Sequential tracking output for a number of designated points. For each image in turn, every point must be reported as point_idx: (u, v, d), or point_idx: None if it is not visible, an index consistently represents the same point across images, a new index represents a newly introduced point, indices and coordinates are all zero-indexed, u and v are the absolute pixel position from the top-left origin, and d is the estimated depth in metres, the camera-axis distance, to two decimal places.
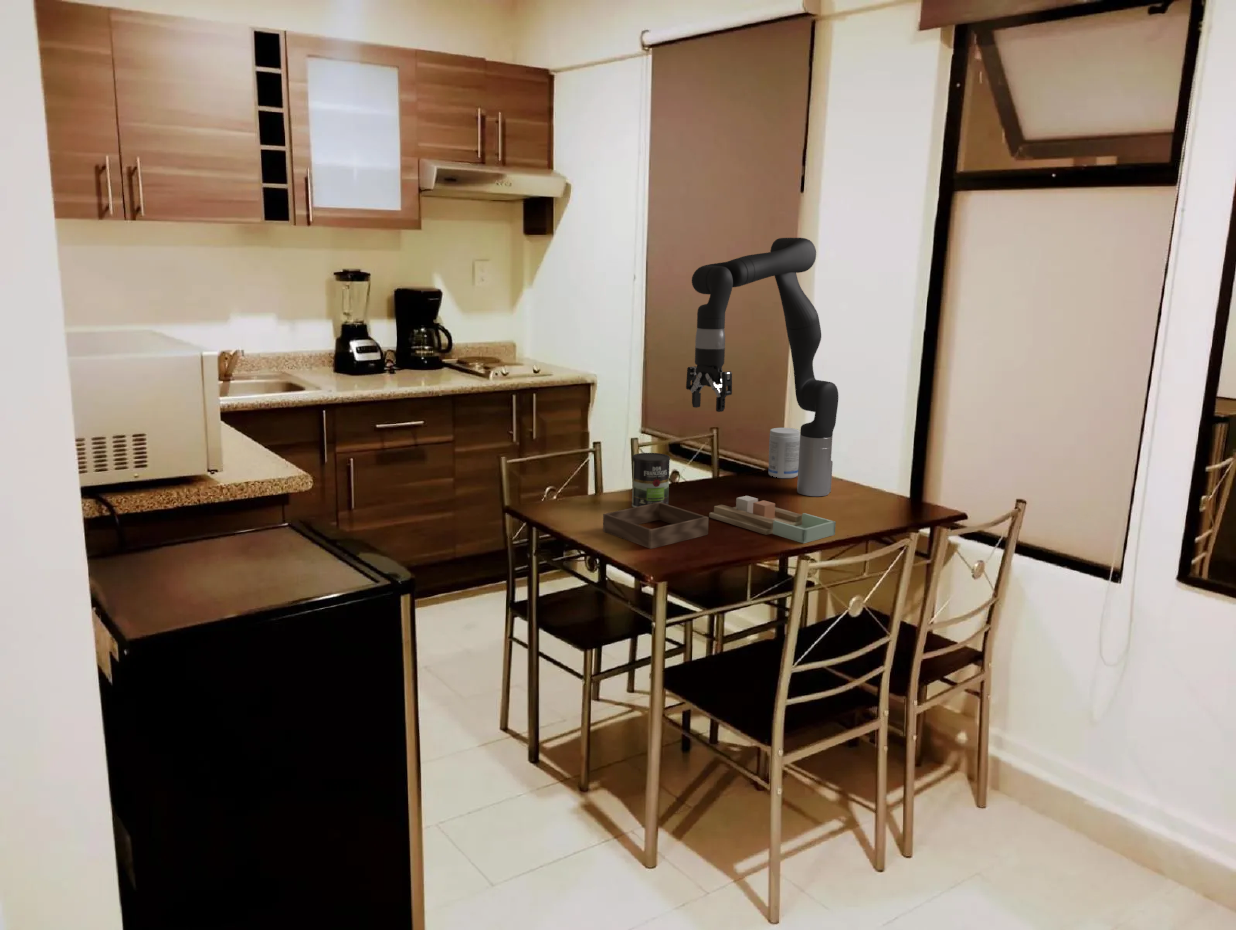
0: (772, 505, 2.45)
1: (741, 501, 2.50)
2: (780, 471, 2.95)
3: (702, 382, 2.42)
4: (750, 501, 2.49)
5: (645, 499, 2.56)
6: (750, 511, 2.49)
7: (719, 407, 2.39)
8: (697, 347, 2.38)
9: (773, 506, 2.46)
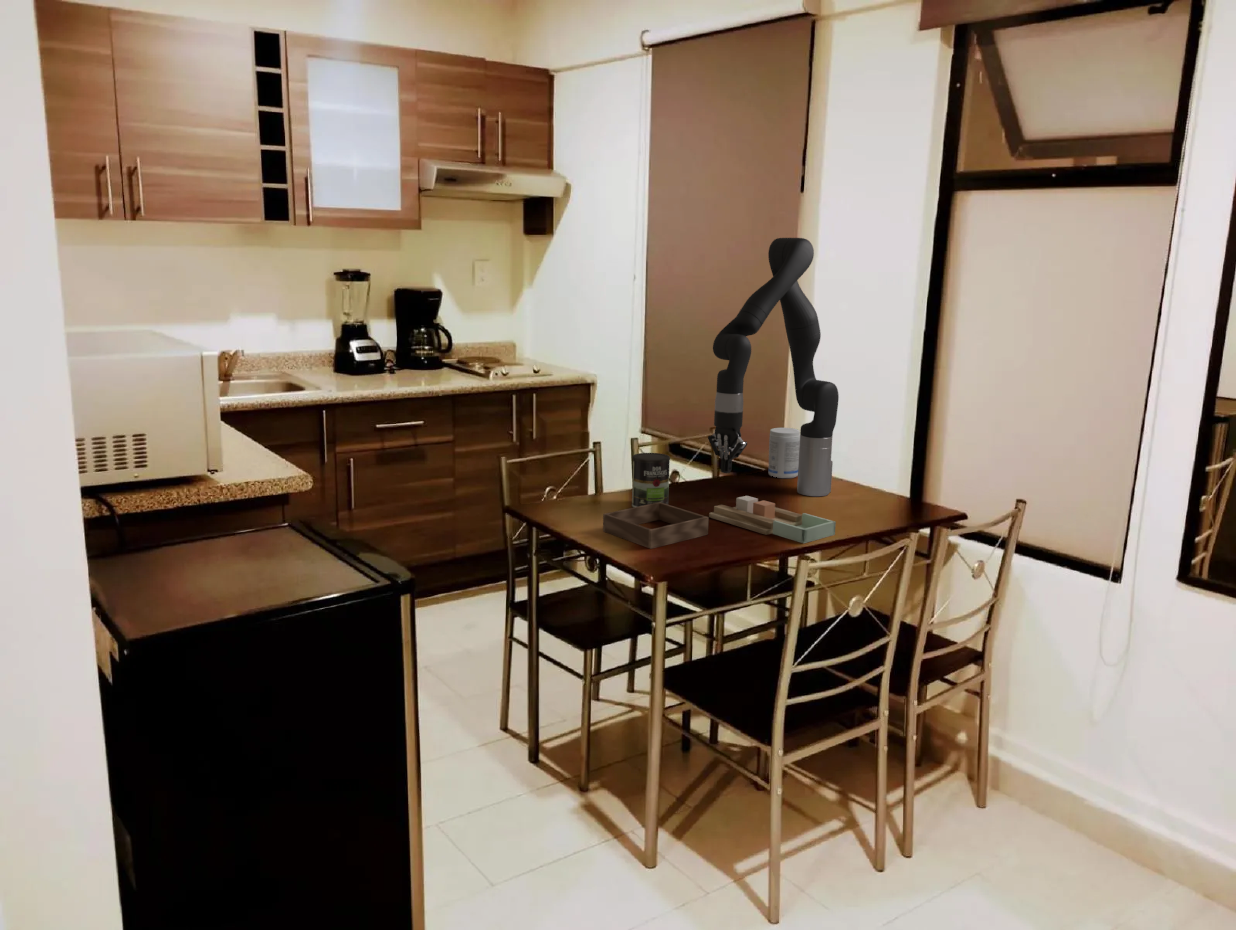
0: (772, 505, 2.45)
1: (741, 501, 2.50)
2: (780, 471, 2.95)
3: None
4: (750, 501, 2.49)
5: (645, 499, 2.56)
6: (750, 511, 2.49)
7: (726, 469, 2.54)
8: (716, 410, 2.50)
9: (773, 506, 2.46)
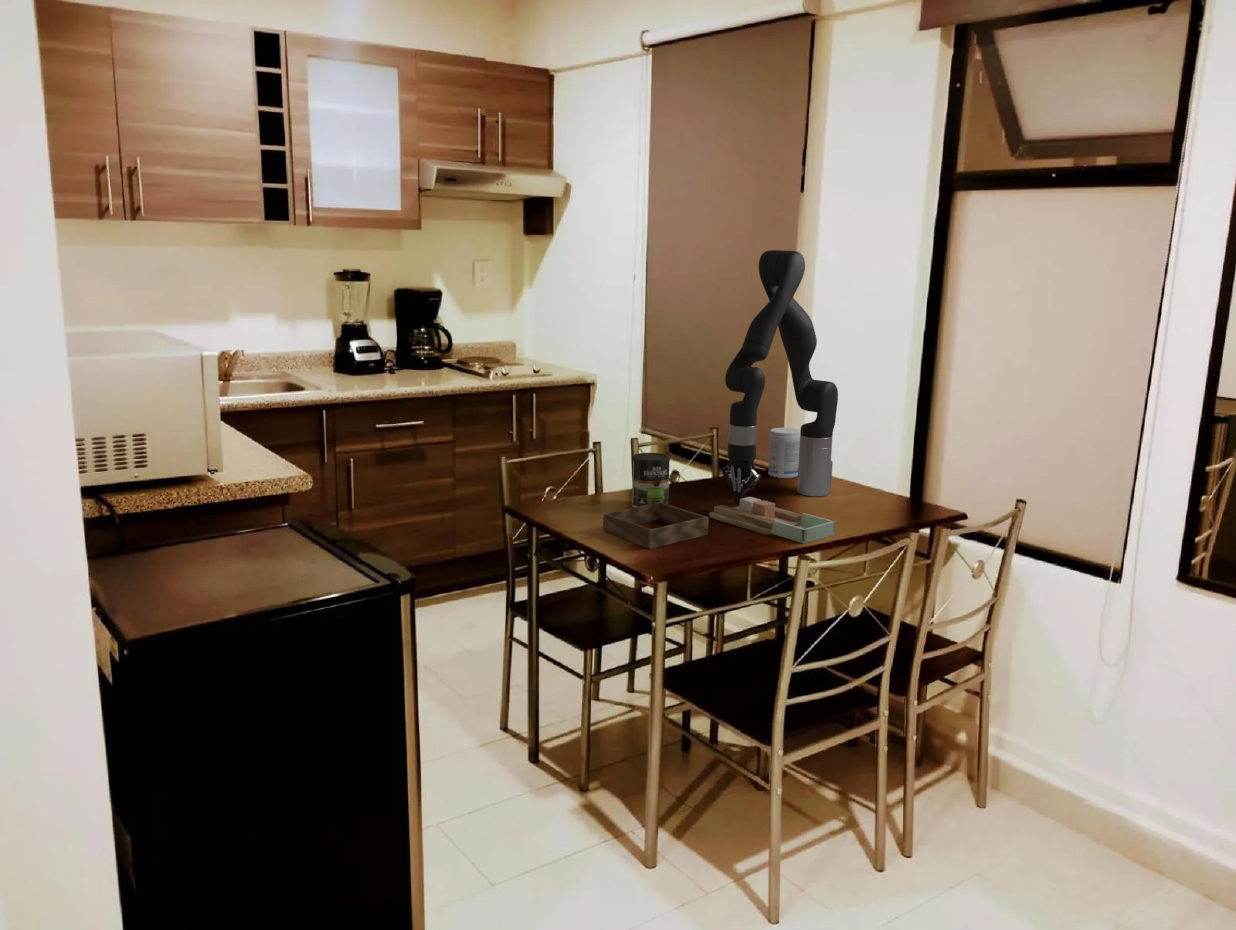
0: (772, 505, 2.45)
1: (744, 502, 2.49)
2: (780, 471, 2.95)
3: None
4: (753, 502, 2.48)
5: (645, 499, 2.56)
6: None
7: None
8: (730, 443, 2.48)
9: (773, 506, 2.46)
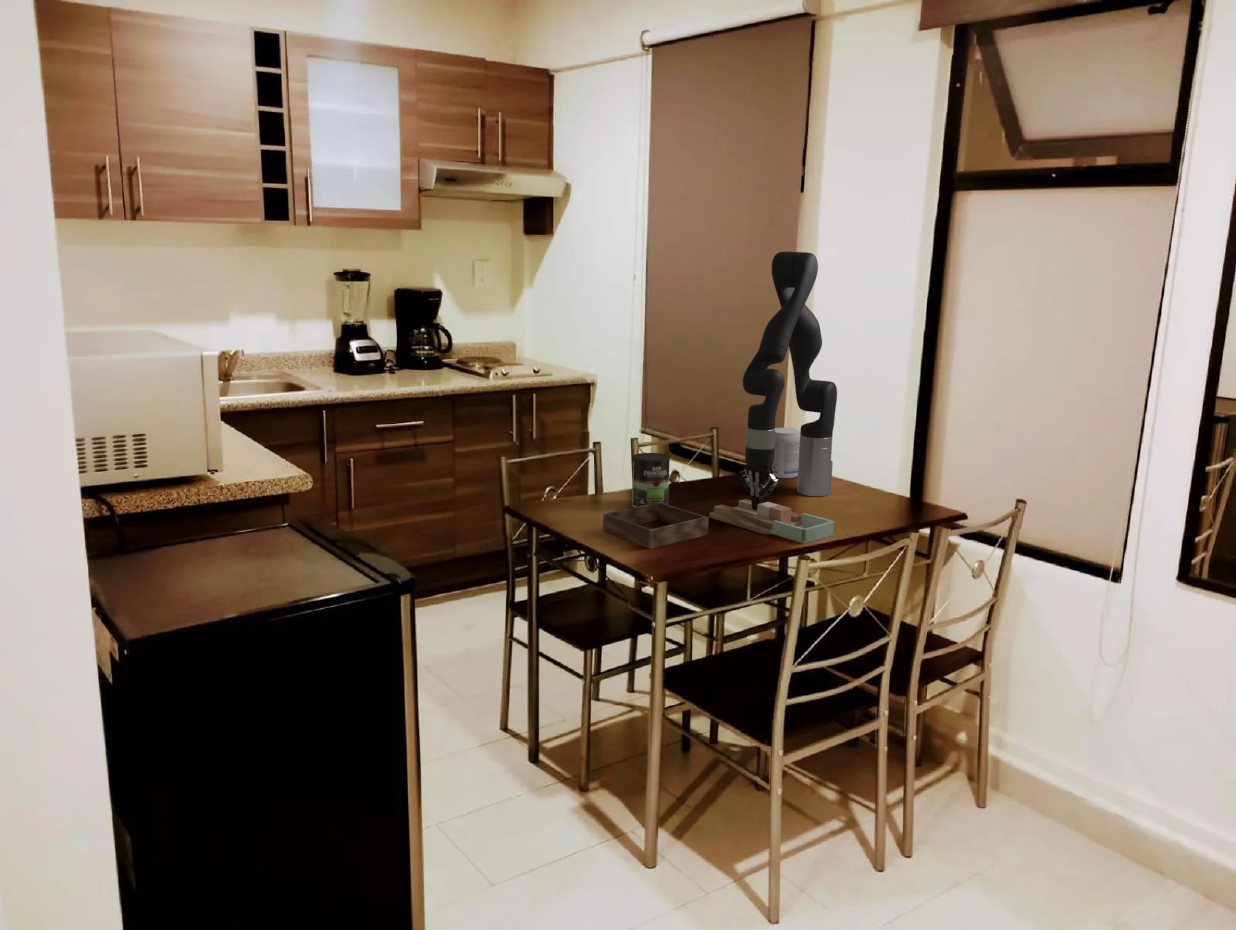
0: (788, 510, 2.41)
1: (762, 507, 2.44)
2: (780, 471, 2.95)
3: None
4: None
5: (645, 499, 2.56)
6: None
7: None
8: (748, 446, 2.43)
9: (789, 511, 2.41)
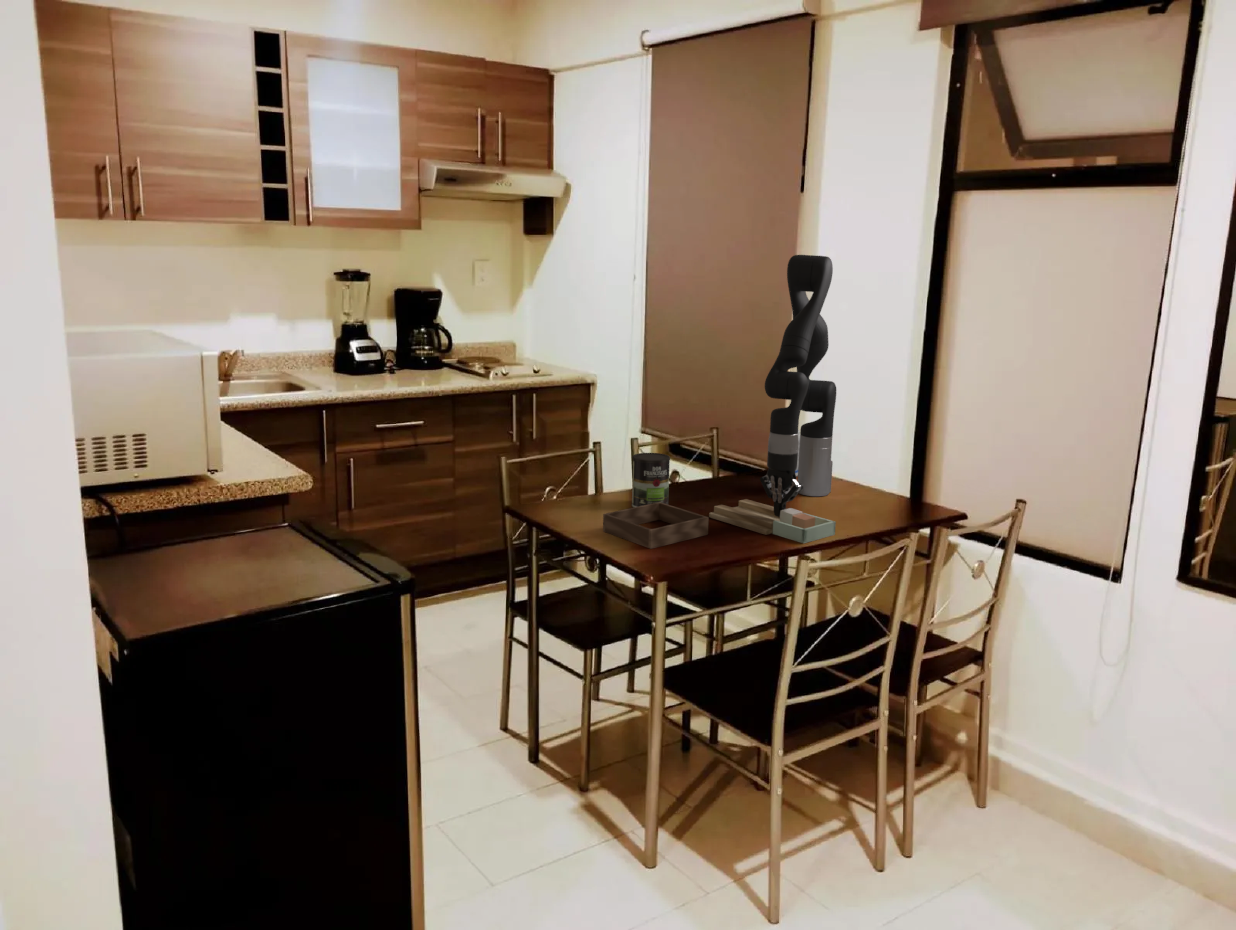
0: (812, 519, 2.35)
1: (785, 514, 2.38)
2: None
3: None
4: (795, 514, 2.37)
5: (645, 499, 2.56)
6: None
7: None
8: (770, 451, 2.37)
9: (813, 520, 2.36)
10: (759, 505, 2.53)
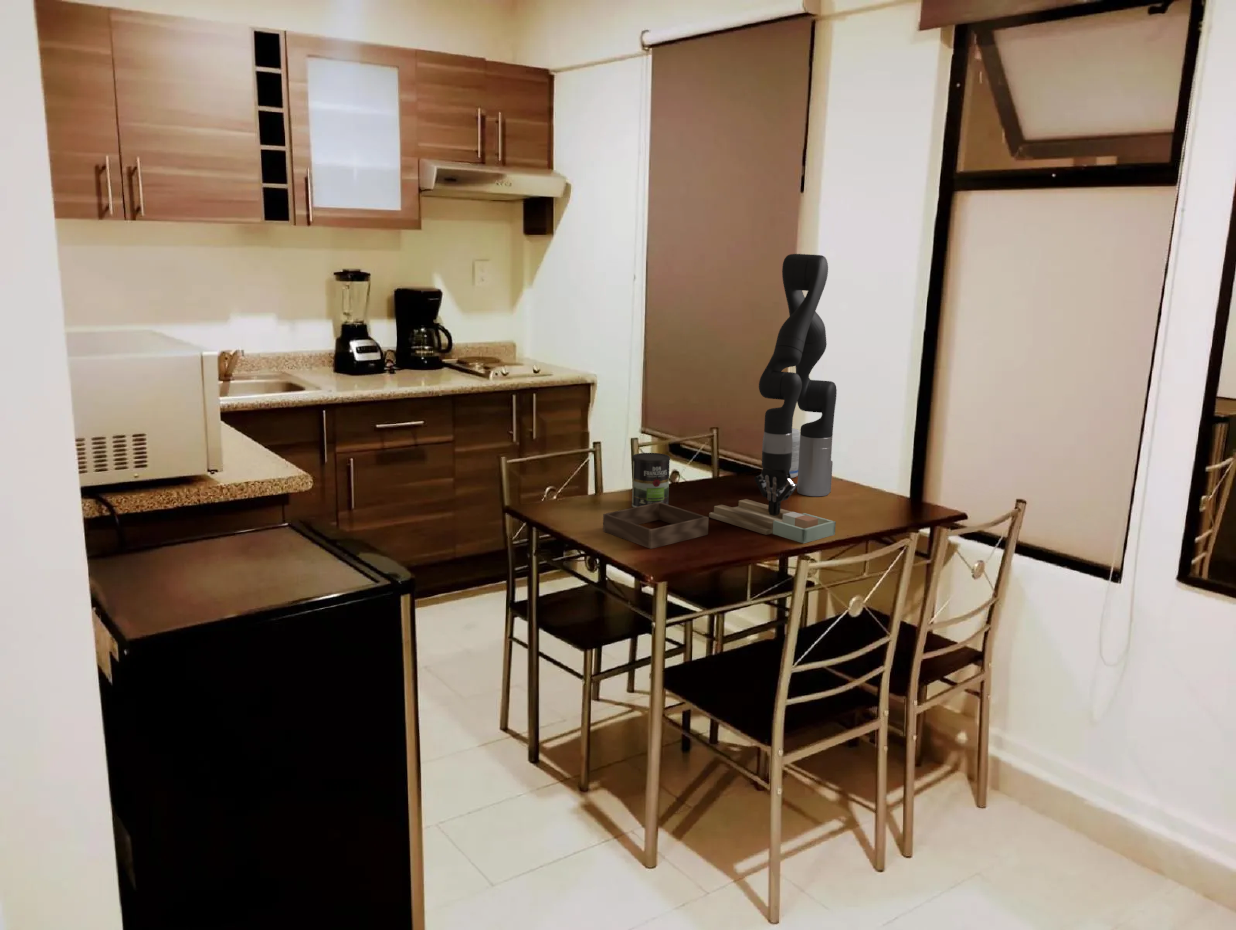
0: (815, 520, 2.35)
1: (788, 517, 2.38)
2: None
3: None
4: None
5: (645, 499, 2.56)
6: None
7: (775, 511, 2.43)
8: (765, 451, 2.39)
9: (816, 521, 2.35)
10: (759, 505, 2.53)
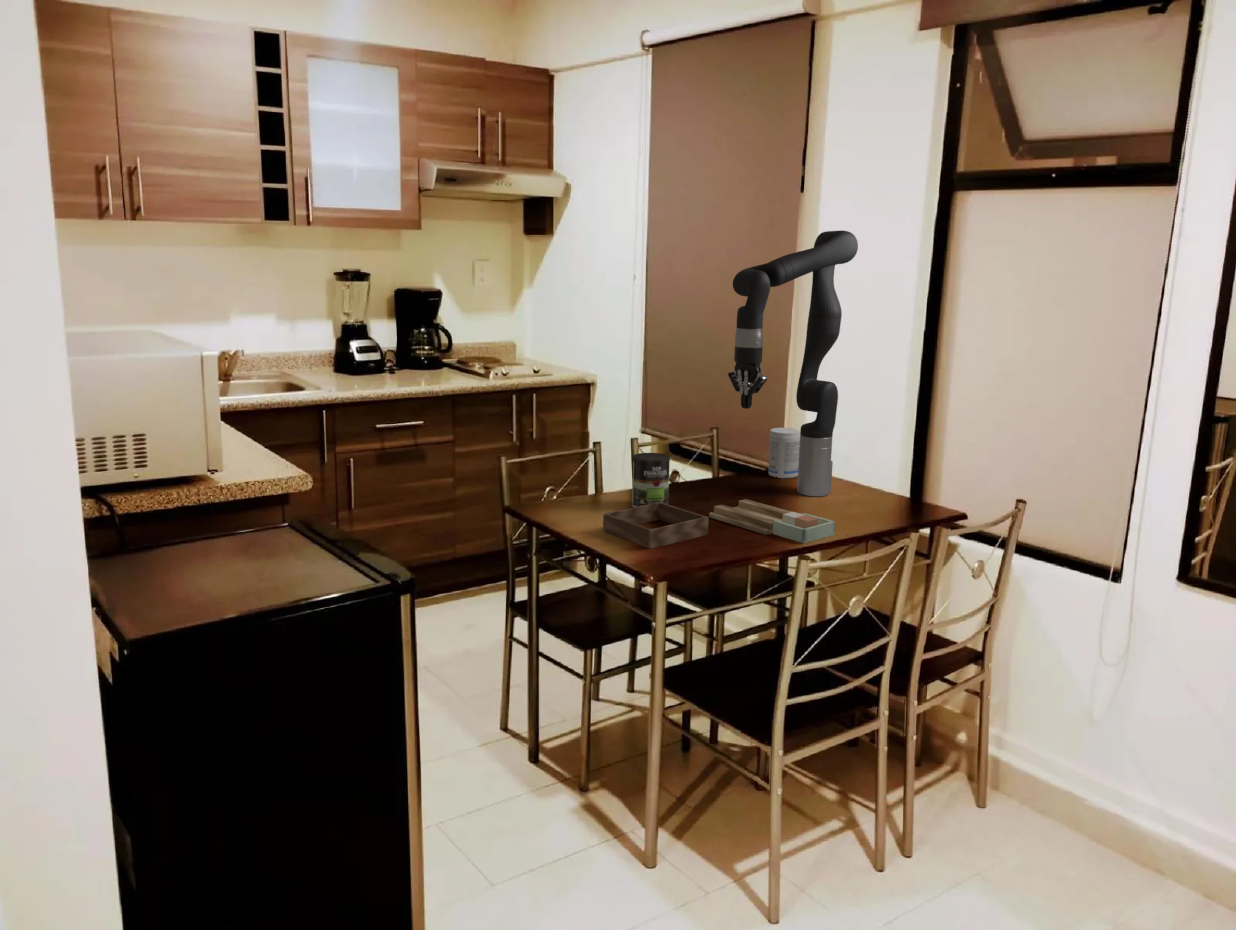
0: (815, 520, 2.35)
1: (788, 517, 2.38)
2: (780, 471, 2.95)
3: None
4: None
5: (645, 499, 2.56)
6: None
7: (746, 404, 2.59)
8: (737, 346, 2.55)
9: (816, 521, 2.35)
10: (759, 505, 2.53)
